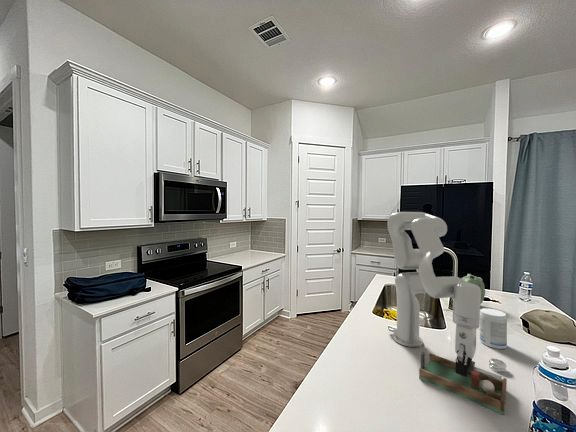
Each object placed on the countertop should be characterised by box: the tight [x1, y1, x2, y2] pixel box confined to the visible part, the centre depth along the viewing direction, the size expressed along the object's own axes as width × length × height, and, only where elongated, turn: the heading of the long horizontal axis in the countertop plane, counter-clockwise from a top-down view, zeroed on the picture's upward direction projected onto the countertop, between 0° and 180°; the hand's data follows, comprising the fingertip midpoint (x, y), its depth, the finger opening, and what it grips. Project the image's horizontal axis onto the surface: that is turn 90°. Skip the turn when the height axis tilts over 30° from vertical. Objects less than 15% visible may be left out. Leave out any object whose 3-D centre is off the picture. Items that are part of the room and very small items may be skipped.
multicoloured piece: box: [455, 357, 503, 390], centre depth 83 cm, size 12×3×7 cm, turn 46°
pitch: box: [418, 351, 508, 416], centre depth 86 cm, size 24×14×6 cm, turn 46°
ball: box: [481, 380, 495, 392], centre depth 81 cm, size 4×4×4 cm
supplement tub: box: [479, 307, 508, 350], centre depth 112 cm, size 10×10×15 cm
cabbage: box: [460, 273, 486, 305], centre depth 158 cm, size 16×19×20 cm
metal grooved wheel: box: [488, 358, 507, 374], centre depth 95 cm, size 5×3×5 cm
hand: (463, 367), depth 86 cm, fingers open, 9 cm apart
